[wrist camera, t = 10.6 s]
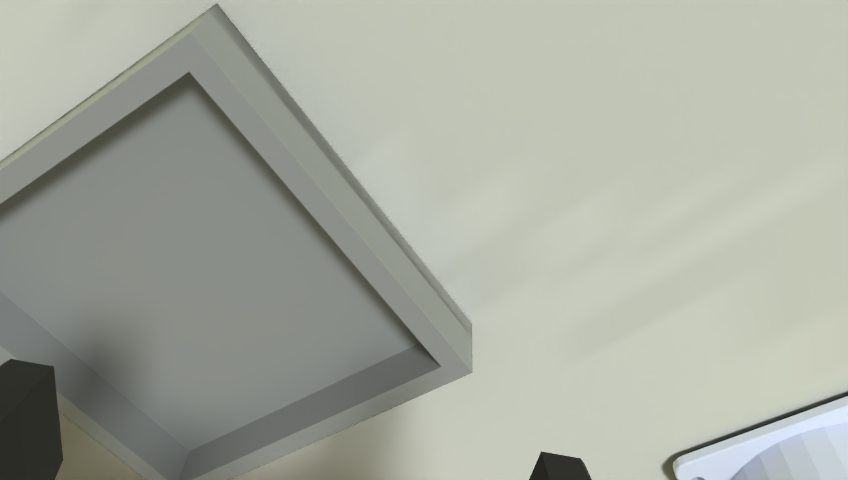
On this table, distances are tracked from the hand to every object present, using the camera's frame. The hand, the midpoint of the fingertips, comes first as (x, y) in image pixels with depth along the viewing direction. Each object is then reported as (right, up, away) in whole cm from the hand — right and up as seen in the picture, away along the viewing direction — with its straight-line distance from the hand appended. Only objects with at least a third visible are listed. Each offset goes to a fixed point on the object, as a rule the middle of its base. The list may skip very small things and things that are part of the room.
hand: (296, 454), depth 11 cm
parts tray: (-4, +2, +10) cm, 11 cm away
